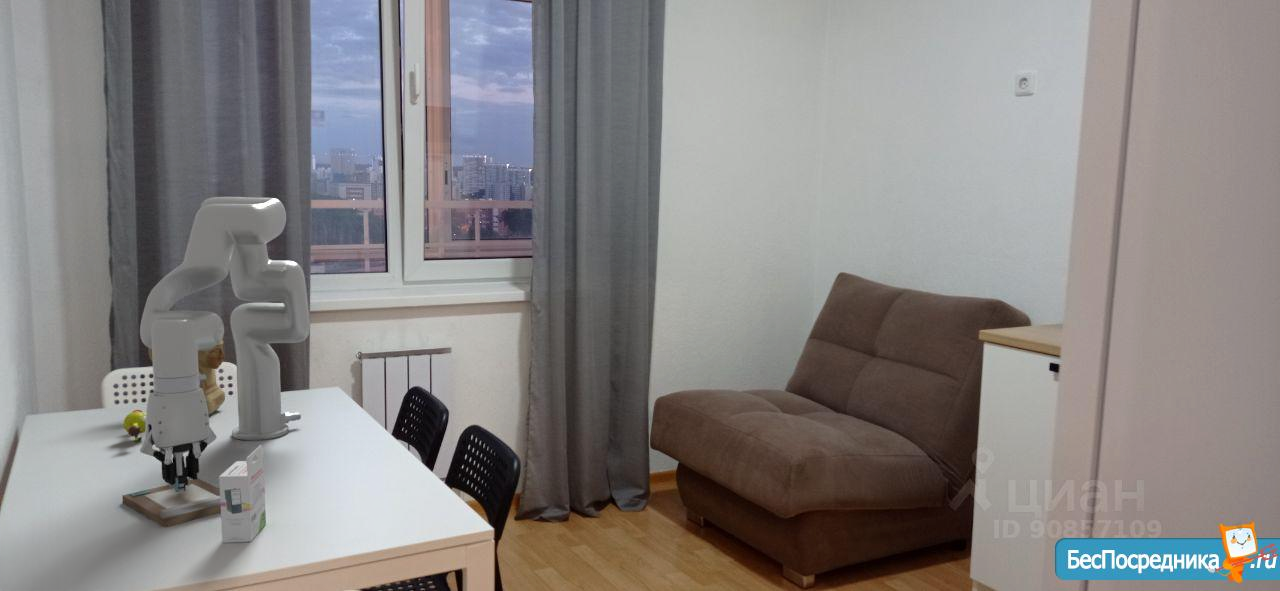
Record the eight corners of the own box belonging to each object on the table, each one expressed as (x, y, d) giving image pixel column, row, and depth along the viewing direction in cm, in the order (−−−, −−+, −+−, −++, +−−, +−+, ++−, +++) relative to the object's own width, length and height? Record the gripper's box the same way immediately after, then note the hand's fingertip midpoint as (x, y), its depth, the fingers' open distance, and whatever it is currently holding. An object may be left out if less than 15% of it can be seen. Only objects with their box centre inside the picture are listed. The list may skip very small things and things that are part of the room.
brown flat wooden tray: (198, 485, 184) (197, 472, 184) (241, 506, 173) (241, 492, 173) (122, 503, 174) (122, 489, 174) (164, 527, 162) (163, 512, 162)
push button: (197, 492, 171) (194, 439, 170) (165, 496, 169) (162, 443, 167) (194, 481, 177) (191, 431, 176) (162, 486, 174) (160, 434, 173)
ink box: (238, 524, 164) (234, 443, 162) (266, 524, 164) (264, 443, 163) (220, 543, 155) (216, 458, 154) (250, 543, 156) (247, 458, 154)
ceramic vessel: (212, 422, 231) (208, 324, 228) (134, 421, 232) (129, 322, 229) (242, 406, 248) (238, 314, 245) (169, 405, 248) (165, 313, 245)
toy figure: (150, 449, 208) (148, 419, 208) (122, 451, 206) (120, 422, 205) (152, 429, 224) (151, 402, 224) (126, 431, 222) (125, 404, 221)
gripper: (211, 374, 179) (215, 466, 181) (120, 388, 167) (125, 486, 169) (230, 380, 174) (234, 474, 177) (137, 394, 162) (142, 496, 164)
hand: (181, 479), depth 173 cm, fingers closed on push button, 3 cm apart
